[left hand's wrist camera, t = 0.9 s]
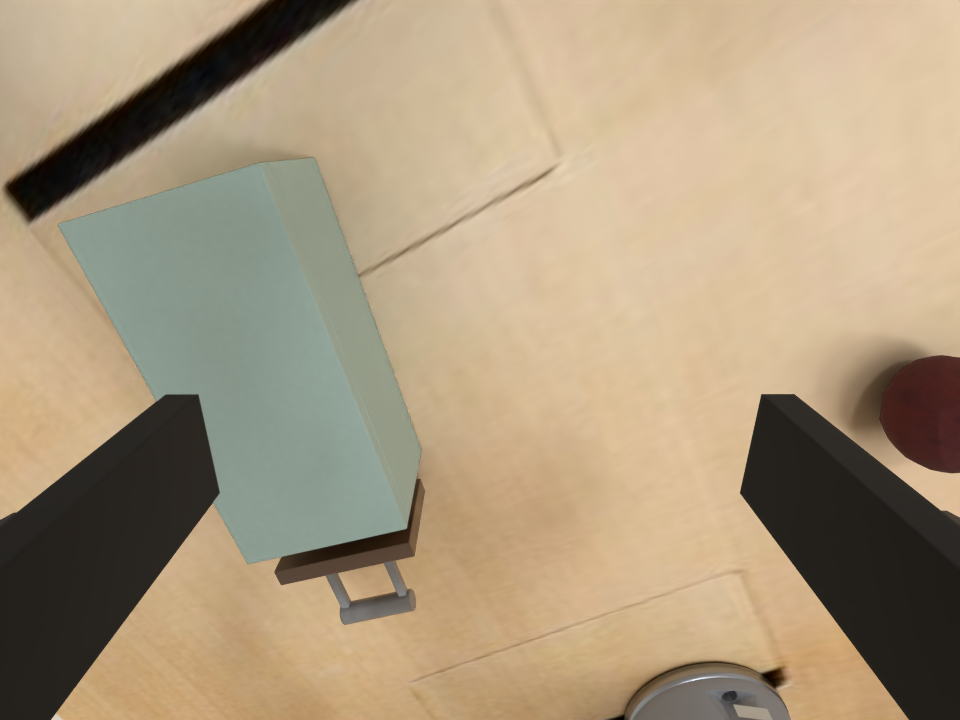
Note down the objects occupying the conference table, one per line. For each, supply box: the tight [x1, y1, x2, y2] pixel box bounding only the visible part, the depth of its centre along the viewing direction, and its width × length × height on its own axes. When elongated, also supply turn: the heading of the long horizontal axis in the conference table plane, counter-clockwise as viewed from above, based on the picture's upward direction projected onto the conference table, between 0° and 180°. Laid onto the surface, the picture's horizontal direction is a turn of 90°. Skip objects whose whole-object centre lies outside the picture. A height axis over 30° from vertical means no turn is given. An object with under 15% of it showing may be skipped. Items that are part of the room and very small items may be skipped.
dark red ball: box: [880, 355, 960, 473], centre depth 36 cm, size 7×8×7 cm
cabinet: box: [58, 158, 422, 564], centre depth 33 cm, size 22×11×9 cm, turn 15°
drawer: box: [274, 479, 425, 625], centre depth 36 cm, size 26×9×7 cm, turn 15°
